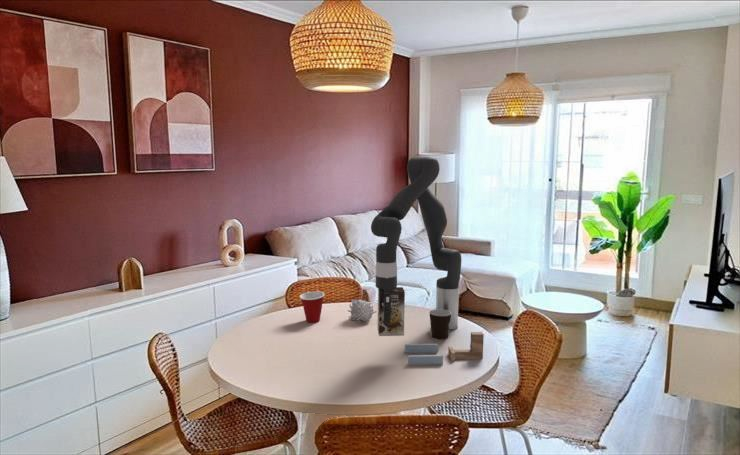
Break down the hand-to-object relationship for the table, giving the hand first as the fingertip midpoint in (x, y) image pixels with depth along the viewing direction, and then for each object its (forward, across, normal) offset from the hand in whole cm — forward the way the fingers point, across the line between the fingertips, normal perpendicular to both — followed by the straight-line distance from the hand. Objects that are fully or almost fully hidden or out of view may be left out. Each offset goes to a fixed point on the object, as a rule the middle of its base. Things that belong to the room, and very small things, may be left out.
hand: (386, 319), depth 182 cm
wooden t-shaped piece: (+15, 0, +29) cm, 32 cm away
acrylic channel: (+14, 0, +13) cm, 20 cm away
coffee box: (+5, 0, +2) cm, 5 cm away
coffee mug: (+15, -22, +24) cm, 35 cm away
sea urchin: (+15, -42, -8) cm, 45 cm away
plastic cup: (+15, -42, -29) cm, 53 cm away
